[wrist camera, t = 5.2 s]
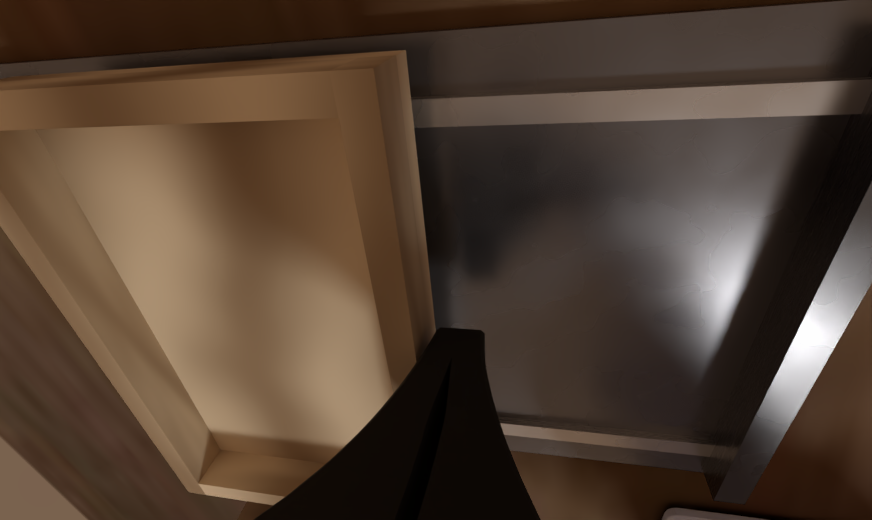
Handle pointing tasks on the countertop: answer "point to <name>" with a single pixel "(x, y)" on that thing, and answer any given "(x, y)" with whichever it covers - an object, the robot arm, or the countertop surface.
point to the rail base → (635, 216)
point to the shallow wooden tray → (229, 249)
